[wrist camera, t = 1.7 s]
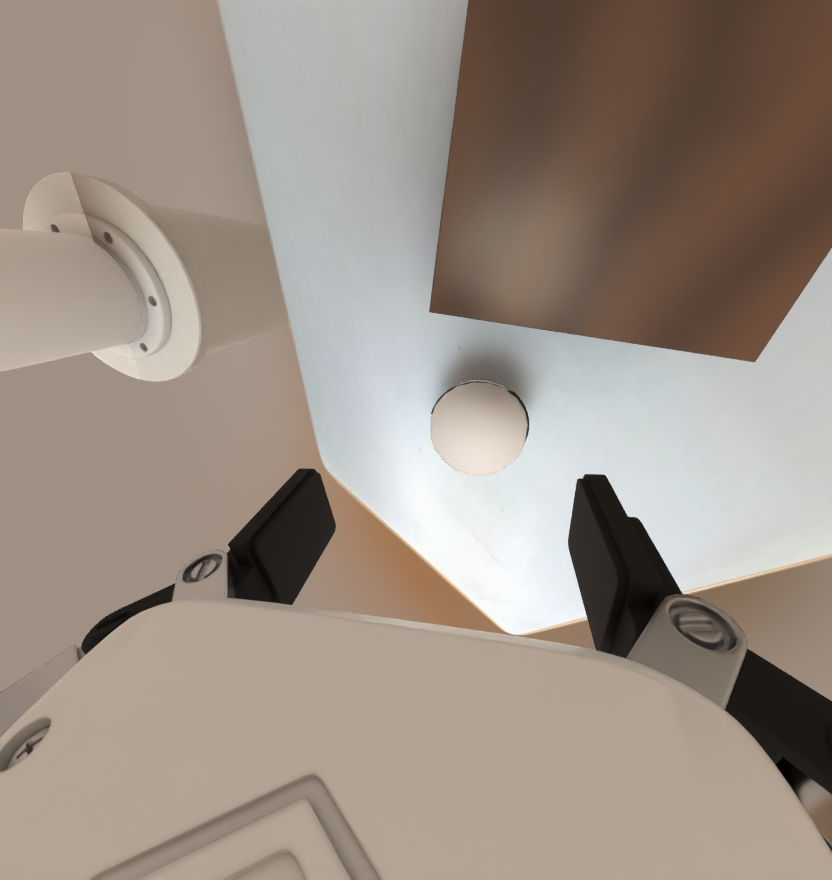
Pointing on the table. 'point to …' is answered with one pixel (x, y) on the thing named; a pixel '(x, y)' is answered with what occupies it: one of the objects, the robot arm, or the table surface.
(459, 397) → the cream oval egg shape
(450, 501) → the table surface
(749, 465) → the table surface
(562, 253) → the shelf
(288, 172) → the table surface
